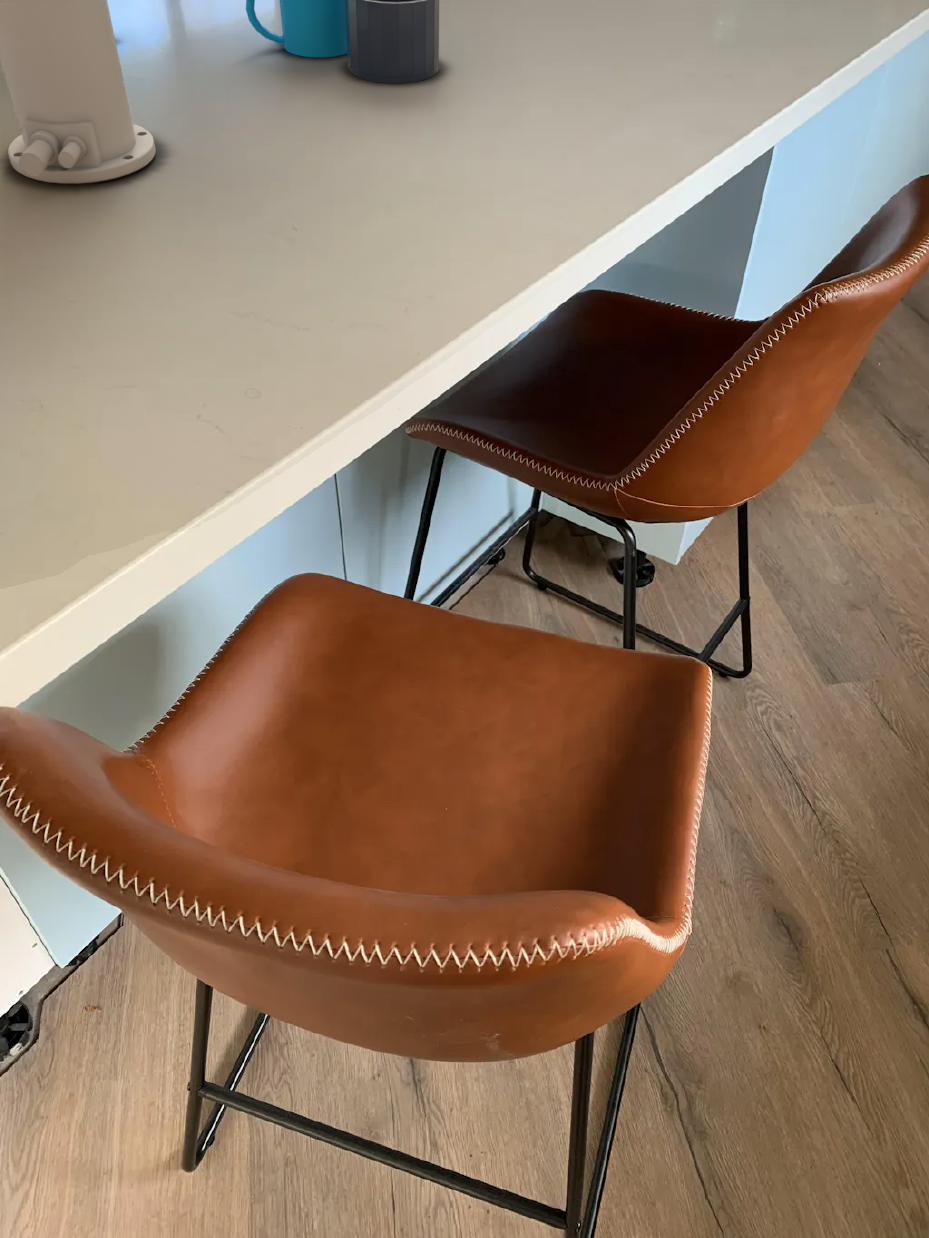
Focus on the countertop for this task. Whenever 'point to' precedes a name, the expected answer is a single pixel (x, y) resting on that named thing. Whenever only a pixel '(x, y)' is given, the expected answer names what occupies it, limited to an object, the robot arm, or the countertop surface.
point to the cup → (392, 39)
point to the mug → (308, 27)
